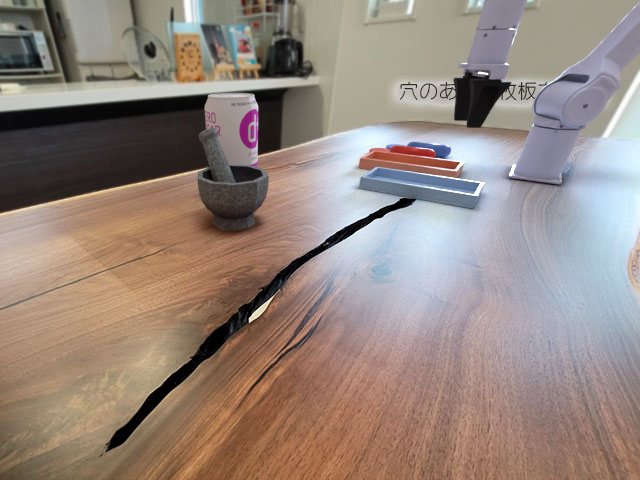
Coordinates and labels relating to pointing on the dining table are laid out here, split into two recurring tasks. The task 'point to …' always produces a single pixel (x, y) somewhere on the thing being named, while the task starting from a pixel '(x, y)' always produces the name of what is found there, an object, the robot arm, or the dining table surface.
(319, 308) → the dining table surface
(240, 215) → the mortar and pestle
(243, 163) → the white soda can
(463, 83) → the robot arm
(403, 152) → the red spoon
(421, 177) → the blue tray
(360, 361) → the dining table surface
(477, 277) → the dining table surface
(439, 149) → the blue spoon
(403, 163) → the red tray
